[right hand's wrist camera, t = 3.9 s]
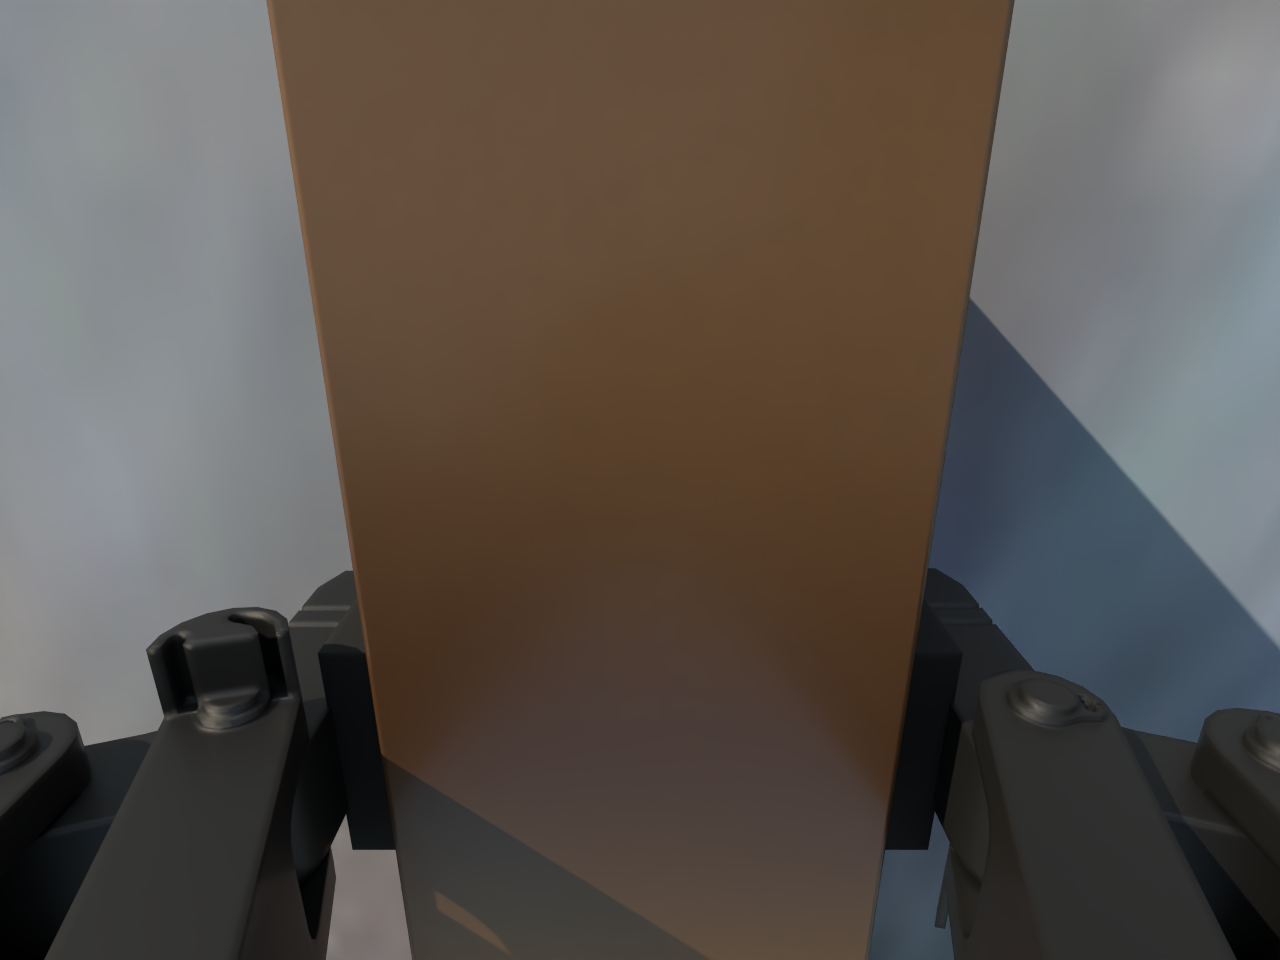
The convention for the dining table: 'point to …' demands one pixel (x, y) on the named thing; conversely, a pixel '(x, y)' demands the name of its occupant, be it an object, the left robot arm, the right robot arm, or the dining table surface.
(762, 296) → the bar
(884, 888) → the dining table surface
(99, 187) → the dining table surface
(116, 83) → the dining table surface
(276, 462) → the dining table surface
